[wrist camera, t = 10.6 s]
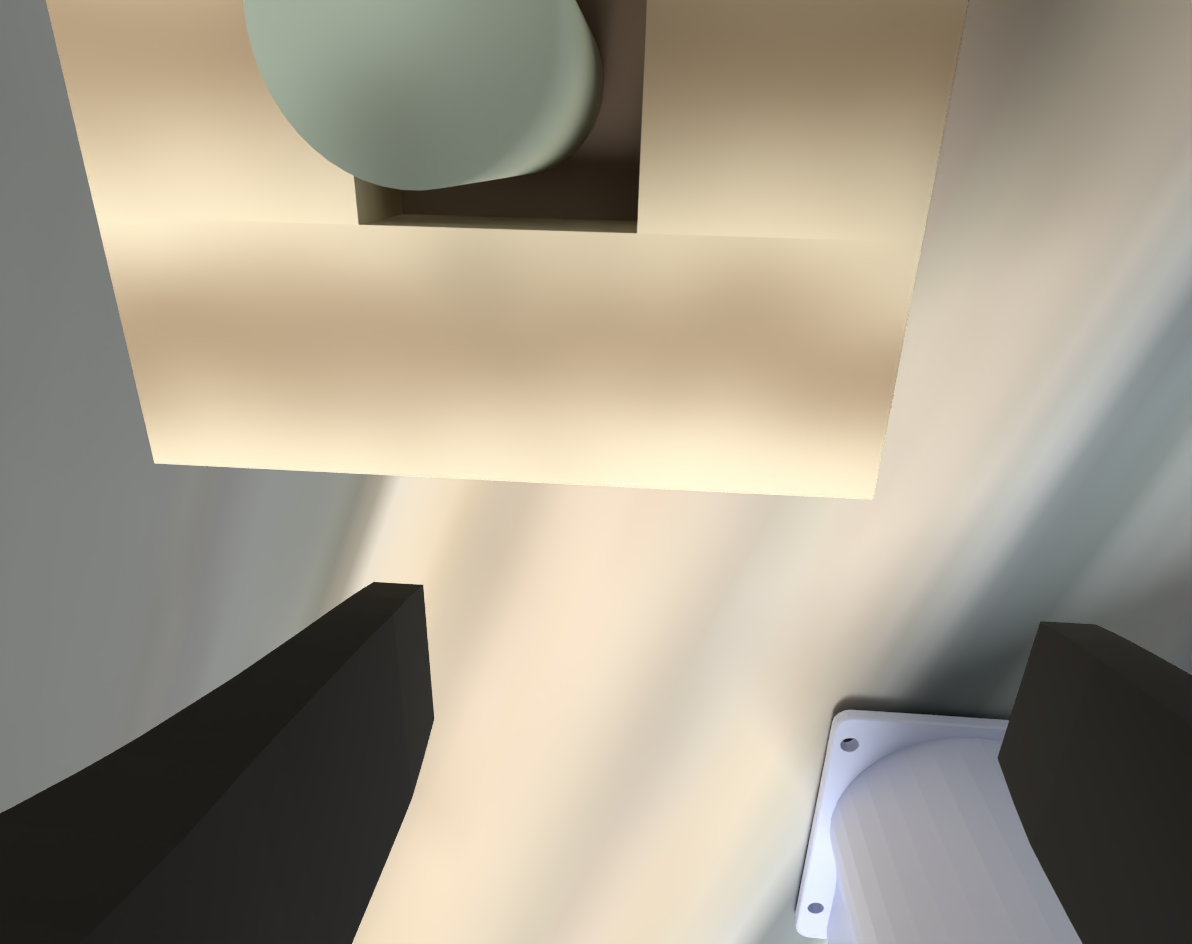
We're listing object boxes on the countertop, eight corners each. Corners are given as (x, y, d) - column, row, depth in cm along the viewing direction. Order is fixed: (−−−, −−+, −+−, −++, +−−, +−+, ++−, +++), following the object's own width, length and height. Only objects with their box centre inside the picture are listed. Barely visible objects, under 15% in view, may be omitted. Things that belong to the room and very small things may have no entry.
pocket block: (840, 448, 19) (873, 499, 16) (224, 419, 19) (154, 463, 17) (990, -453, 12) (1089, -630, 9) (64, -433, 13) (-93, -589, 10)
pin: (606, 170, 16) (567, 184, 9) (445, 177, 16) (279, 196, 9) (599, -23, 15) (548, -198, 7) (424, -12, 15) (207, -171, 8)
